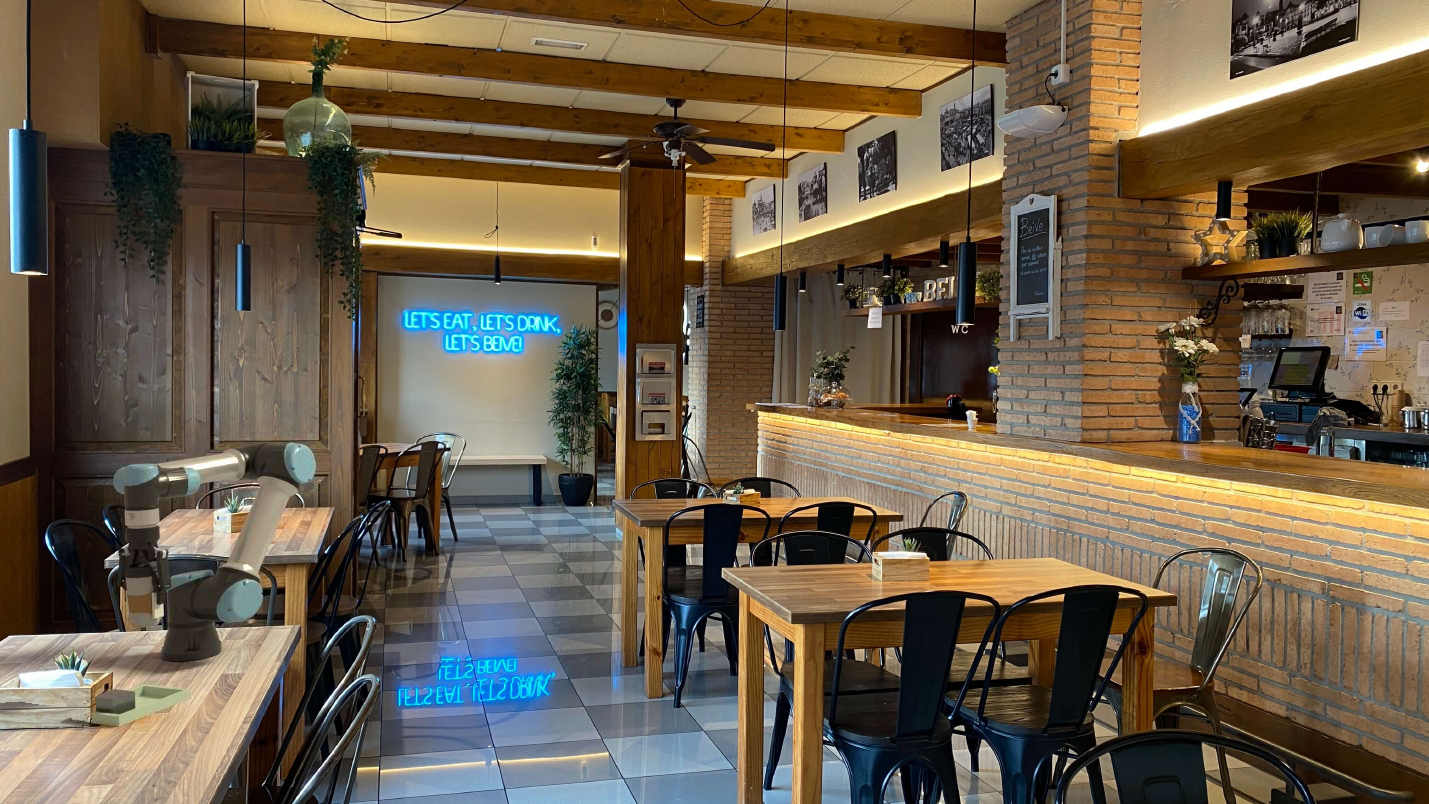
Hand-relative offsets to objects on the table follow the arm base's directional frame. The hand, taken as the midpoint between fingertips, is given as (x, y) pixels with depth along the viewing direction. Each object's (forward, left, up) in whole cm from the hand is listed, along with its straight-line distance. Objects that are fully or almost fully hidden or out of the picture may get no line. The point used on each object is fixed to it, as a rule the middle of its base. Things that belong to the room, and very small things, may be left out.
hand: (145, 615), depth 255 cm
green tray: (+16, +13, -18) cm, 28 cm away
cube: (+21, +13, -17) cm, 30 cm away
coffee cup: (0, 0, -2) cm, 2 cm away
